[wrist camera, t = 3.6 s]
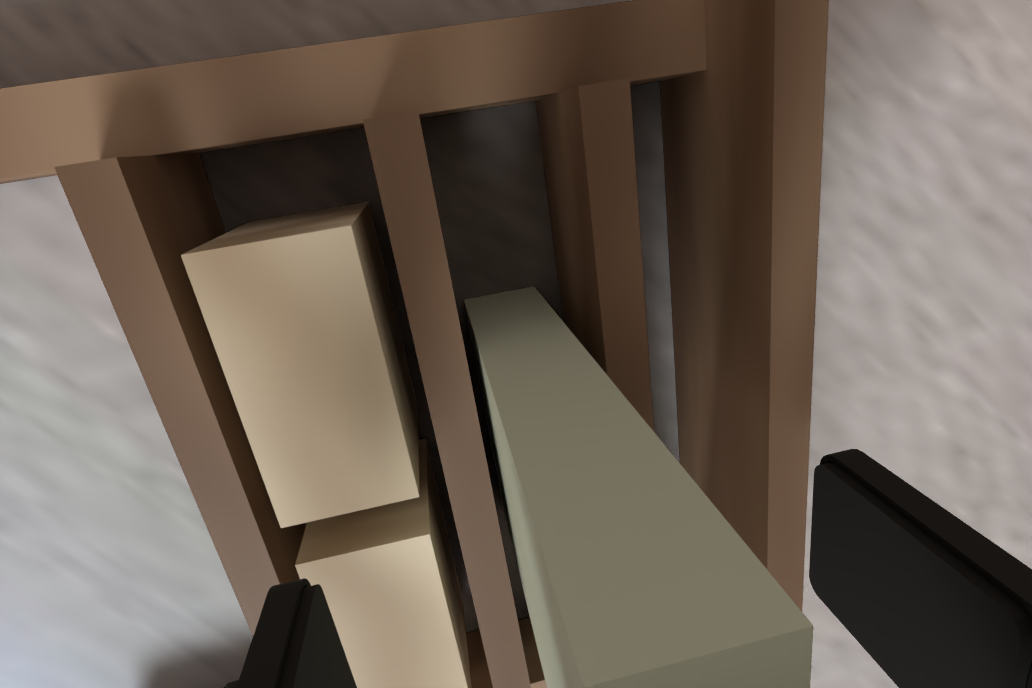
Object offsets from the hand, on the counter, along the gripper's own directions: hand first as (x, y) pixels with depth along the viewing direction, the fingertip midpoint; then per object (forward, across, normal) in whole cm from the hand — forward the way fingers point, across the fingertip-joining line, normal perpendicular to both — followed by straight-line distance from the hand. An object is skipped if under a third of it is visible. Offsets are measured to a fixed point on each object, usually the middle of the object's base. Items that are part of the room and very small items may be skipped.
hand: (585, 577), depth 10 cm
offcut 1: (+7, +4, -4) cm, 9 cm away
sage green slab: (+7, 0, 0) cm, 7 cm away
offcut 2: (+7, +4, +4) cm, 9 cm away
